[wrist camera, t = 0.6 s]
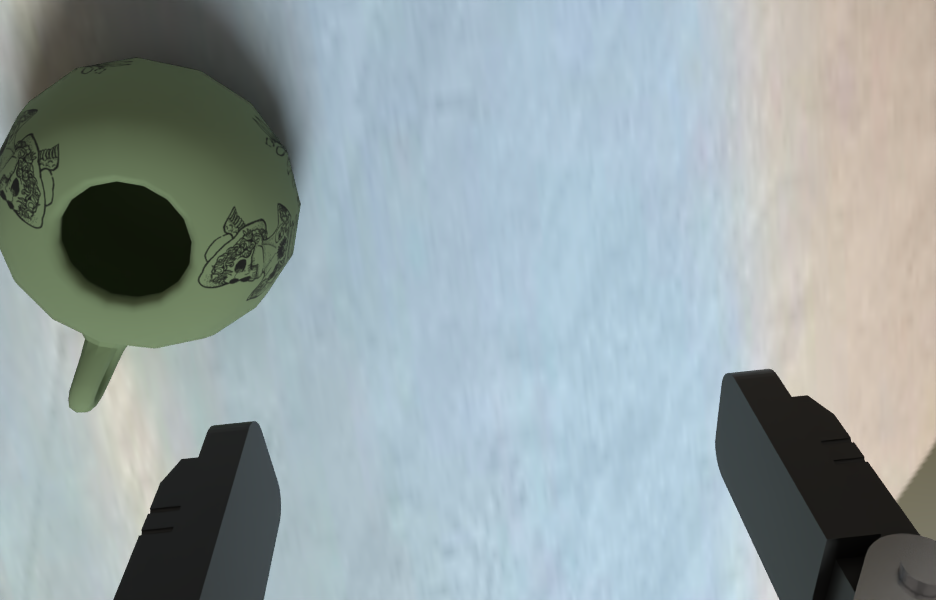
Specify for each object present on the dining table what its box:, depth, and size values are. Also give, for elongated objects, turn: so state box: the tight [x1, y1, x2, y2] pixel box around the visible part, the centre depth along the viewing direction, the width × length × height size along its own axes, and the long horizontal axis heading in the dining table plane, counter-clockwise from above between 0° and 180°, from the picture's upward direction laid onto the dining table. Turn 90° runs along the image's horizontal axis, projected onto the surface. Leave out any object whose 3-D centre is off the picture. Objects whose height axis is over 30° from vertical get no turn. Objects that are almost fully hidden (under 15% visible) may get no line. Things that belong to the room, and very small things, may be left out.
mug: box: [0, 58, 301, 412], centre depth 33 cm, size 16×13×9 cm
